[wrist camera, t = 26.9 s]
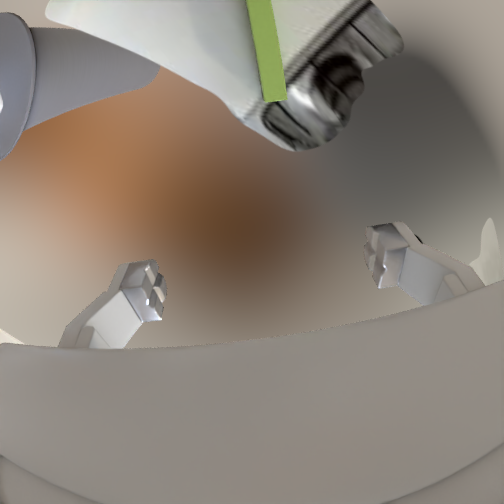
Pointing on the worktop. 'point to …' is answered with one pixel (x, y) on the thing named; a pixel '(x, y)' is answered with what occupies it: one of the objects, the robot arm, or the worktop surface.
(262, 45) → the green bar
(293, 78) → the worktop surface
